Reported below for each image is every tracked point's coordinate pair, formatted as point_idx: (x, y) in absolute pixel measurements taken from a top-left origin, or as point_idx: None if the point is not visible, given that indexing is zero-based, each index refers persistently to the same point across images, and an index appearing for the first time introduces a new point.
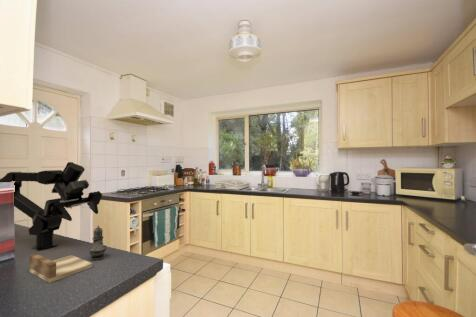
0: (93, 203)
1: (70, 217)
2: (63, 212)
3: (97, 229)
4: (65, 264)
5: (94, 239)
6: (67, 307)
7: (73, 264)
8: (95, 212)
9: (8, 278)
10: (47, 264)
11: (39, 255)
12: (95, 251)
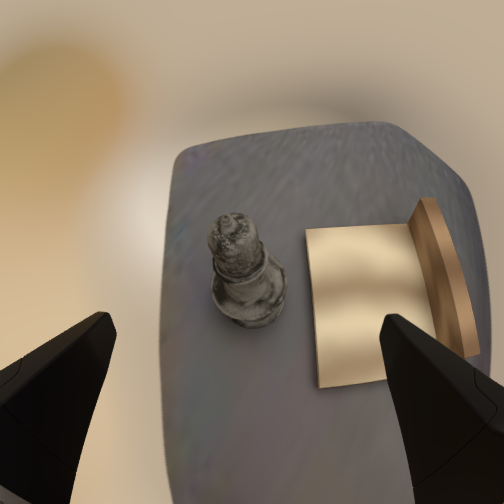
0: (18, 393)
1: (402, 319)
2: (479, 379)
3: (242, 217)
4: (372, 293)
5: (265, 247)
6: (391, 129)
7: (352, 271)
8: (106, 350)
9: (485, 353)
10: (439, 212)
11: (459, 321)
12: (273, 256)
